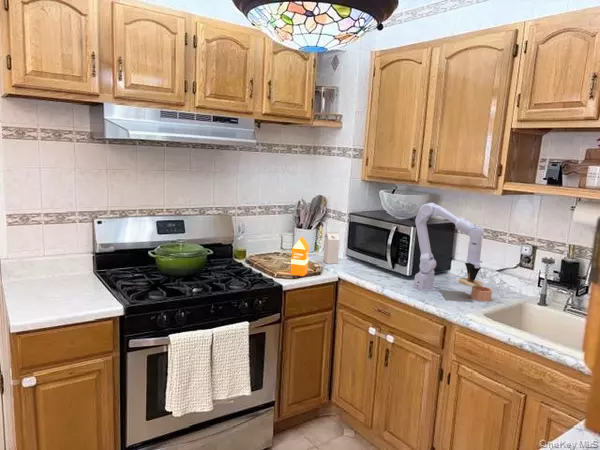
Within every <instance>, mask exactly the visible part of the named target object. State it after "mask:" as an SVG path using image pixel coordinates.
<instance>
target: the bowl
mask: <svg viewBox="0 0 600 450" xmlns="http://www.w3.org/2000/svg"><path fill="white" fill-rule="evenodd" d="M470 296H471V297H470V298H472V299H473V300H477V301H481V302H490V301H491V300H492V296H493V289H492V288H491V287H487V286H483V285H482V286H481V287H471V293H470Z"/></svg>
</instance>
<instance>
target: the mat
mask: <svg viewBox="0 0 600 450" xmlns="http://www.w3.org/2000/svg"><path fill="white" fill-rule="evenodd" d="M438 291H439V293H440V294H441V296H442V298H443V299H444V300H445V301H451V302H462V303H463V302H464V303H474V301H473V300H472V299H471V297H470V296H469V295H468V294H467V292H465V291H459V290H447V289H446V290H445V289H438Z"/></svg>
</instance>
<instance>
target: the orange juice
mask: <svg viewBox="0 0 600 450" xmlns="http://www.w3.org/2000/svg"><path fill="white" fill-rule="evenodd" d="M309 253H310V245H309V243H307V241H306V239H305V237H304V236H303V235H302V236H301V237H300V238H299V239H298V240H297V241H296V243H294V245H293V247H292V248H291V259H290V275H291V274H293V276H300V277H304V276H306V275H307V273H308V272H307V271H308V268H309Z"/></svg>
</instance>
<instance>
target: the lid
mask: <svg viewBox="0 0 600 450" xmlns="http://www.w3.org/2000/svg"><path fill="white" fill-rule="evenodd" d="M457 282H458V283H459V284H461V285H464V286H468V287H471V288H472V287H481V286H483V282H482V281H481V280H477V279H475V280H470V273H468V275H467V277H461V278H458V281H457Z"/></svg>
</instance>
